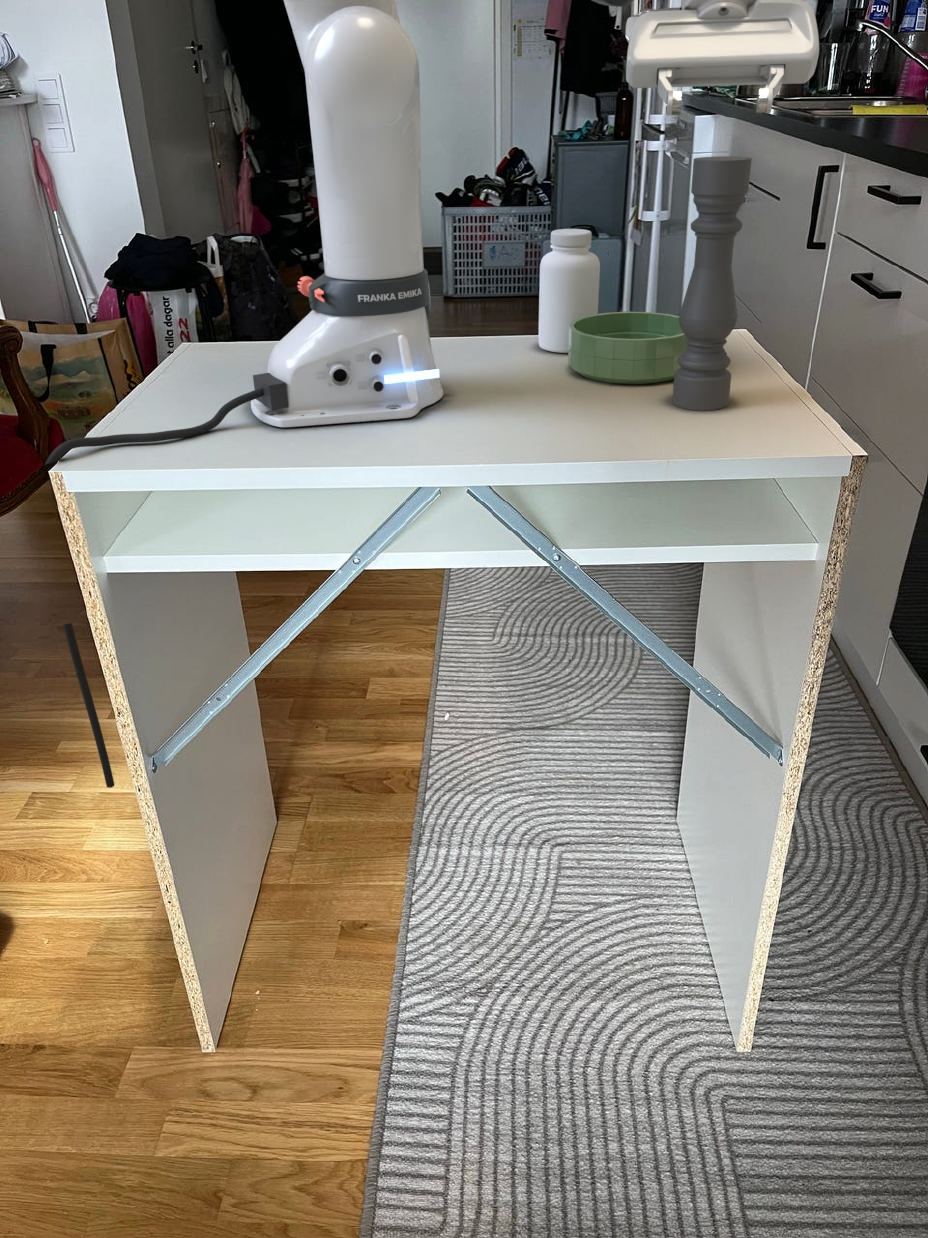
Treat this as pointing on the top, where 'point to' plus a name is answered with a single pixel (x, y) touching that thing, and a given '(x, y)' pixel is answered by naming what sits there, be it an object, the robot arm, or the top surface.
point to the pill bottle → (566, 286)
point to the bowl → (626, 347)
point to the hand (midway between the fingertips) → (718, 109)
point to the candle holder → (711, 283)
